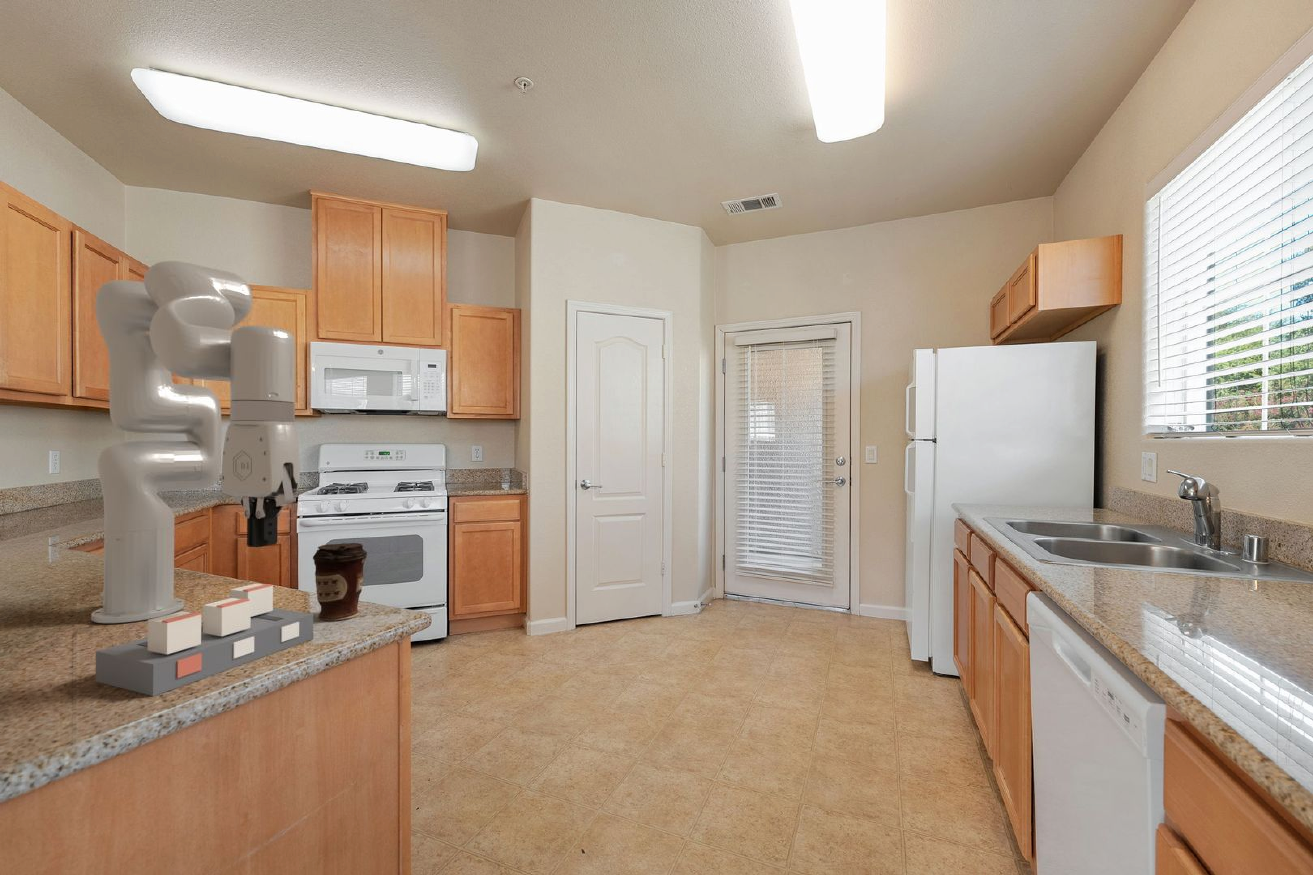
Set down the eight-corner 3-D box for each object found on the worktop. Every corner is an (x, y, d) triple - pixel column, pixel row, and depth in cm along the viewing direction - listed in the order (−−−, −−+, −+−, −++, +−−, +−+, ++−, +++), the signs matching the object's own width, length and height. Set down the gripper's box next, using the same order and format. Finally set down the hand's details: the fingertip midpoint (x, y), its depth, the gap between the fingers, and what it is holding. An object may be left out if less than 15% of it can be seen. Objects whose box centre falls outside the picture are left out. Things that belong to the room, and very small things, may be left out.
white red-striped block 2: (230, 614, 90) (230, 588, 90) (255, 607, 94) (255, 582, 94) (247, 617, 88) (248, 590, 88) (272, 610, 92) (273, 584, 92)
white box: (147, 650, 75) (147, 618, 75) (181, 640, 78) (182, 609, 79) (167, 654, 73) (167, 621, 73) (200, 644, 77) (201, 613, 77)
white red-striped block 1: (202, 632, 82) (203, 603, 82) (231, 624, 85) (232, 596, 85) (221, 636, 80) (221, 606, 80) (250, 627, 84) (250, 599, 84)
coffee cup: (341, 625, 98) (341, 550, 98) (299, 622, 100) (300, 548, 100) (375, 611, 107) (376, 542, 107) (337, 608, 108) (337, 540, 108)
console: (95, 681, 75) (96, 650, 75) (261, 629, 96) (261, 605, 96) (154, 696, 71) (154, 663, 71) (313, 638, 92) (314, 613, 92)
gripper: (199, 415, 79) (198, 546, 79) (274, 413, 74) (273, 554, 74) (253, 417, 86) (252, 538, 86) (325, 415, 81) (325, 544, 81)
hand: (262, 545), depth 80 cm, fingers closed
